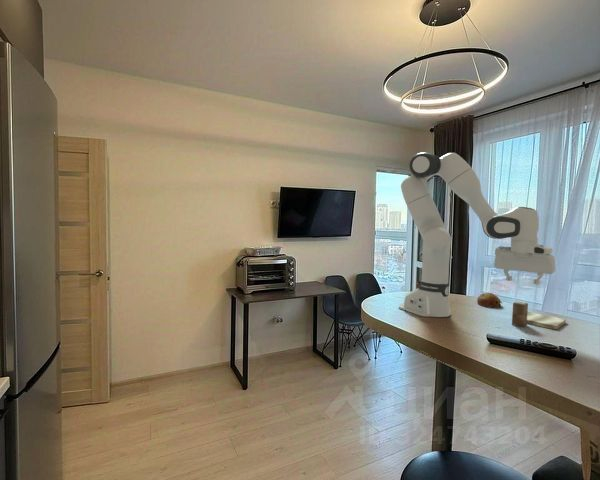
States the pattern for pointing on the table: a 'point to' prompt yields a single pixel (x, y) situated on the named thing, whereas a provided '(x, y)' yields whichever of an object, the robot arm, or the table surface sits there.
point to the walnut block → (519, 314)
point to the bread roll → (489, 300)
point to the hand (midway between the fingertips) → (522, 282)
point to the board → (545, 320)
